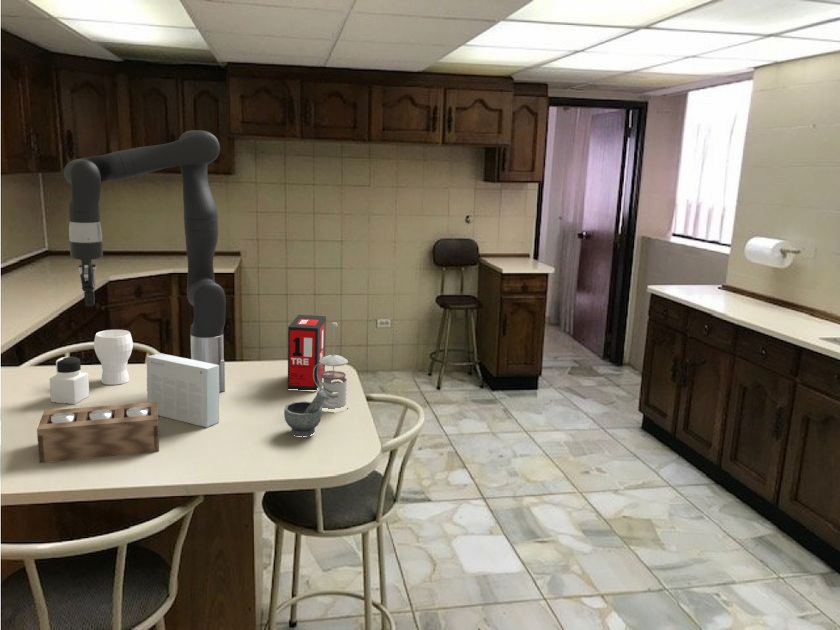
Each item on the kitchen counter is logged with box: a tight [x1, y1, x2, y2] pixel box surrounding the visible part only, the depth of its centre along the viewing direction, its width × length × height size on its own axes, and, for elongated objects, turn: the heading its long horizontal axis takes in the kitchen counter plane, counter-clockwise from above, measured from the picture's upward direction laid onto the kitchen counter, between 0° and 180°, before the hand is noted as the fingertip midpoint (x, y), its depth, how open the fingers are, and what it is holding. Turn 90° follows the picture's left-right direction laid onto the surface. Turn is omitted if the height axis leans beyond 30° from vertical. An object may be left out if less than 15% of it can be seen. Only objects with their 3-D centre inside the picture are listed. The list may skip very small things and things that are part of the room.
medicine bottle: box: [49, 356, 90, 405], centre depth 190 cm, size 7×7×12 cm
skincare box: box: [146, 352, 220, 428], centre depth 181 cm, size 21×5×16 cm, turn 65°
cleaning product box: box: [287, 314, 327, 391], centre depth 214 cm, size 16×9×20 cm, turn 179°
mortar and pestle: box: [283, 390, 327, 437], centre depth 175 cm, size 11×9×12 cm
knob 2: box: [127, 407, 148, 417], centre depth 164 cm, size 5×5×5 cm
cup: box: [93, 329, 134, 386], centre depth 206 cm, size 11×11×15 cm
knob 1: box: [51, 412, 75, 423], centre depth 158 cm, size 5×5×5 cm
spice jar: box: [89, 409, 112, 420], centre depth 161 cm, size 5×5×5 cm
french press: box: [313, 322, 349, 409], centre depth 194 cm, size 10×12×25 cm
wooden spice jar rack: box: [36, 402, 160, 464], centre depth 162 cm, size 25×12×8 cm, turn 111°
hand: (89, 305), depth 179 cm, fingers closed
